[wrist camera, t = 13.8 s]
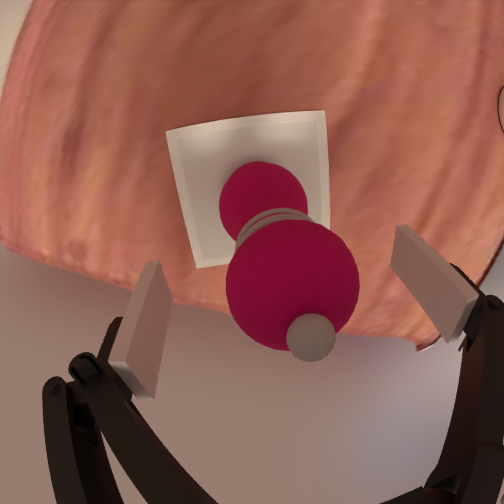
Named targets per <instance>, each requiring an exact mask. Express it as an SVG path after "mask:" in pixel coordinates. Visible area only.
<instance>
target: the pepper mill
mask: <svg viewBox="0 0 504 504" xmlns="http://www.w3.org/2000/svg"><path fill="white" fill-rule="evenodd" d="M219 212H220V219H221V222H222V224H223V227H224V228H225V230H226V232H227V233H228V234H229V236H230V237H231V238H232V239H233V240H234V241H236V244H235V253H234V255H233V257H232V259H231V261H230V263H229V267H228V271H227V276H226V295H227V299H228V304H229V308H230V311H231V313H232V315H233V317H234V319H235V321H236V322H237V324H238V325H239V326H240V328H241V329H242V330H243V331H244V332H245V333H246V334H247V335H248V336H250V337H251V338H252V339H253V340H255V341H256V342H258V343H260V344H262V345H264V346H266V347H270V348H272V349H276V350H284V351H291V352H292V354H293V355H294V356H295V357H297V358H298V359H300V360H303V361H307V362H314V361H318V360H321V359H322V358H324V357H326V356H327V355H328V354H329V352H330V351H331V350H332V349H333V347H334V343H335V339H336V333H337V332H339V331H340V330H341V328H342V327H343V326H344V325H345V324H346V323H347V322H348V320H349V319H350V317H351V315H352V313H353V312H354V309H355V306H356V304H357V301H358V295H359V288H360V285H359V273H358V269H357V266H356V263H355V260H354V258H353V256H352V254H351V252H350V250H349V249H348V247H347V246H346V244H345V243H344V242H343V240H342V239H341V238H340V237H338V236H337V235H336V234H335V233H333V232H332V231H330V230H329V229H327V228H326V227H324V226H323V225H321V224H318V223H315V222H314V221H313V220H312V219H311V218H310V217H309V216H308V202H307V197H306V194H305V191H304V189H303V187H302V185H301V184H300V182H299V181H298V179H297V178H296V177H295V176H294V175H293V174H292V173H291V172H290V171H289V170H287V169H285V168H283V167H282V166H279V165H276V164H272V163H267V162H261V161H256V162H250V163H247V164H244V165H242V166H241V167H239V168H238V169H236V170H235V171H234V172H233V173H232V175H231V176H230V178H229V179H228V180H227V182H226V183H225V185H224V187H223V189H222V191H221V194H220V198H219Z"/></svg>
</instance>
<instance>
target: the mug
mask: <svg viewBox="0 0 504 504" xmlns="http://www.w3.org/2000/svg"><path fill="white" fill-rule="evenodd" d="M498 108H499V117H500V122H501V125H502V128H503V130H504V88H503V89H502V91H501V94H500V97H499V107H498Z"/></svg>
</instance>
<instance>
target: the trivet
mask: <svg viewBox="0 0 504 504" xmlns="http://www.w3.org/2000/svg"><path fill="white" fill-rule="evenodd" d="M165 132H166V138H167V143H168V148H169V153H170V158H171V163H172V168H173V172H174V177H175V182H176V186H177V191H178V195H179V199H180V204H181V208H182V212H183V216H184V220H185V225H186V229H187V233H188V237H189V241H190V244H191V248H192V252H193V256H194V260H195V263H196V267H197V268H203V267H210V266H217V265H223V264H229V263H230V261H231V259H232V257H233V255H234V253H235V244H236V241H234V240H233V239H232V238H231V237H230V236H229V234H228V233H227V232H226V230H225V228H224V227H223V224H222V222H221V219H220V212H219V198H220V194H221V191H222V189H223V187H224V185H225V183H226V182H227V180H228V179H229V178H230V176H231V175H232V173H233V172H234V171H235V170H236V169H238V168H239V167H241V166H242V165H244V164H247V163H250V162H256V161H261V162H267V163H272V164H276V165H279V166H282V167H283V168H285V169H287V170H289V171H290V172H291V173H292V174H293V175H294V176H295V177H296V178H297V179H298V181H299V182H300V184H301V185H302V187H303V189H304V191H305V194H306V197H307V202H308V216H309V217H310V218H311V219H312V220H313V221H314V222H315V223H318V224H321V225H323V226H324V227H326V228H327V229H329V230H330V186H329V161H328V144H327V130H326V117H325V110H314V111H295V112H282V113H271V114H261V115H252V116H244V117H237V118H230V119H224V120H217V121H212V122H206V123H201V124H195V125H190V126H185V127H181V128H176V129H172V130H167V131H165Z"/></svg>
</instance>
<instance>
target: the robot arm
mask: <svg viewBox="0 0 504 504" xmlns="http://www.w3.org/2000/svg"><path fill="white" fill-rule="evenodd" d="M390 267H391V268H392V269H393V270H394V272H395V273H396V274H397V275H398V277H399V278H400V279H401V280H402V282H403V283H404V284H405V286H406V287H407V288H408V289H409V291H410V292H411V293H412V295H413V296H414V297H415V299H416V300H417V301H418V303H419V304H420V305H421V307H422V308H423V310H424V311H425V312H426V314H427V315H428V317H429V318H430V319H431V321H432V322H433V324H434V325H435V327H436V328H437V329H438V331H439V332H440V334H441V335H442V337H443V338H444V340H445V341H446V343H447V344H449V343H451V342H453V341H455V340H458V339H459V337H460V335H461V333H462V331H464V332H465V333H466V336H465V338H464V340H463V342H462V343H461V345H460V347H459V349H458V351H460V350H461V348H462V347H463V354H462V362H461V370H460V377H459V383H458V389H457V394H456V399H455V404H454V409H453V413H452V417H451V421H450V426H449V429H448V433H447V436H446V440H445V443H444V446H443V450H442V453H441V456H440V458H439V461H438V464H437V466H436V467H435V469H434V470H433V471H432V473H431V474H430V476H429V477H428V479H427V481H426V483H425V486H424V488H422V486H421V487H419V488H417V489H414V490H412V491H410V492H408V493H405V494H403V495H400V496H398V497H396V498H393V499H391V500H388V501H386V502H383V503H380V504H496V501H497V498H498V495H499V492H500V488H501V485H502V482H503V478H504V446H503V437H504V303H503V302H502V301H501V300H500V299H499V298H498V297H496V296H494V295H487V296H485V294H484V293H483V292H482V291H481V290H480V289H479V288H478V287H477V286H476V285H475V284H474V283H473V282H472V281H471V280H469V277H468V276H467V275H465V273H464V272H463V271H462V270H461V269H460V268H459V267H457V266H455V265H454V264H452V263H448V262H447V261H446V260H445V259H444V258H443V257H442V256H441V255H440V254H439V253H438V252H437V251H436V250H435V249H434V248H433V247H431V246H430V245H429V244H428V243H427V242H426V241H425V240H424V239H423V238H422V237H420V236H419V235H418V234H417V233H416V232H415V231H414V230H413V229H411V228H410V227H409V226H408V225H407V224H406V225H399V226H396V231H395V239H394V246H393V252H392V259H391V265H390ZM172 304H173V298H172V295H171V293H170V290H169V287H168V284H167V282H166V279H165V276H164V273H163V270H162V268H161V265H160V262H159V260H158V261H151V262H146V264H145V266H144V268H143V270H142V273H141V275H140V277H139V280H138V282H137V284H136V287H135V289H134V292H133V294H132V296H131V299H130V301H129V304H128V306H127V309H126V312H125V314H124V317H116V318H115V319H114V320H113V322H112V323H111V324H110V325H109V327H108V330H107V333H106V336H105V338H104V340H103V341H104V342H103V343H102V345H101V348H100V350H99V353H98V356H97V359H96V358H95V356H94V355H93V354H92V353H89V352H83V353H81V354H79V355H77V356H76V357H74V358H73V360H72V361H71V362H70V364H69V368H68V370H69V374H70V375H71V376H72V377H73V379H75V381H72V382H68V383H66V382H65V381H64V380H63V379H62V378H61V377H58V376H56V377H52V378H50V379H49V380H48V381H47V382H46V383H45V385H44V387H43V391H42V401H43V422H44V434H45V443H46V452H47V458H48V465H49V471H50V475H51V481H52V486H53V490H54V494H55V498H56V502H57V504H124V502H123V500H122V498H121V495H120V493H119V490H118V487H117V484H116V481H115V479H114V476H113V473H112V470H111V467H110V464H109V460H108V457H107V453H106V450H105V446H104V443H103V439H102V435H101V431H102V433H103V435H104V437H105V439H106V441H107V442H108V444H109V446H110V448H111V449H112V451H113V453H114V455H115V456H116V458H117V459H118V461H119V463H120V464H121V466H122V467H123V469H124V471H125V472H126V474H127V475H128V476H129V478H130V479H131V481H132V482H133V484H134V485H135V487H136V488H137V489H138V491H139V492H140V494H141V495H142V496H143V498H144V499H145V500H146V501H147V503H148V504H218V503H217V502H216V501H215V500H214V499H213V498H212V497H211V496H210V495H209V494H208V493H207V492H206V491H205V490H204V489H203V488H202V487H201V486H200V485H199V484H198V483H197V482H196V481H195V480H194V479H193V478H192V477H191V476H190V475H189V474H188V473H187V472H186V471H185V469H184V468H183V467H182V466H181V465H180V464H179V463H178V461H177V460H176V459H175V458H174V457H173V456H172V454H171V453H170V452H169V451H168V449H167V448H166V447H165V446H164V445H163V443H162V442H161V441H160V440H159V438H158V437H157V436H156V434H155V433H154V432H153V430H152V429H151V428H150V426H149V425H148V424H147V422H146V421H145V419H144V418H143V417H142V415H141V414H140V412H139V411H138V410H137V408H136V407H135V405H134V404H133V402H132V401H131V398H132V394H134V395H135V397H136V398H137V399H138V400H154V399H155V393H156V387H157V381H158V375H159V369H160V363H161V358H162V352H163V347H164V342H165V337H166V332H167V328H168V323H169V318H170V313H171V309H172ZM100 430H101V431H100ZM501 504H504V495H503V496H502V498H501Z"/></svg>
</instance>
